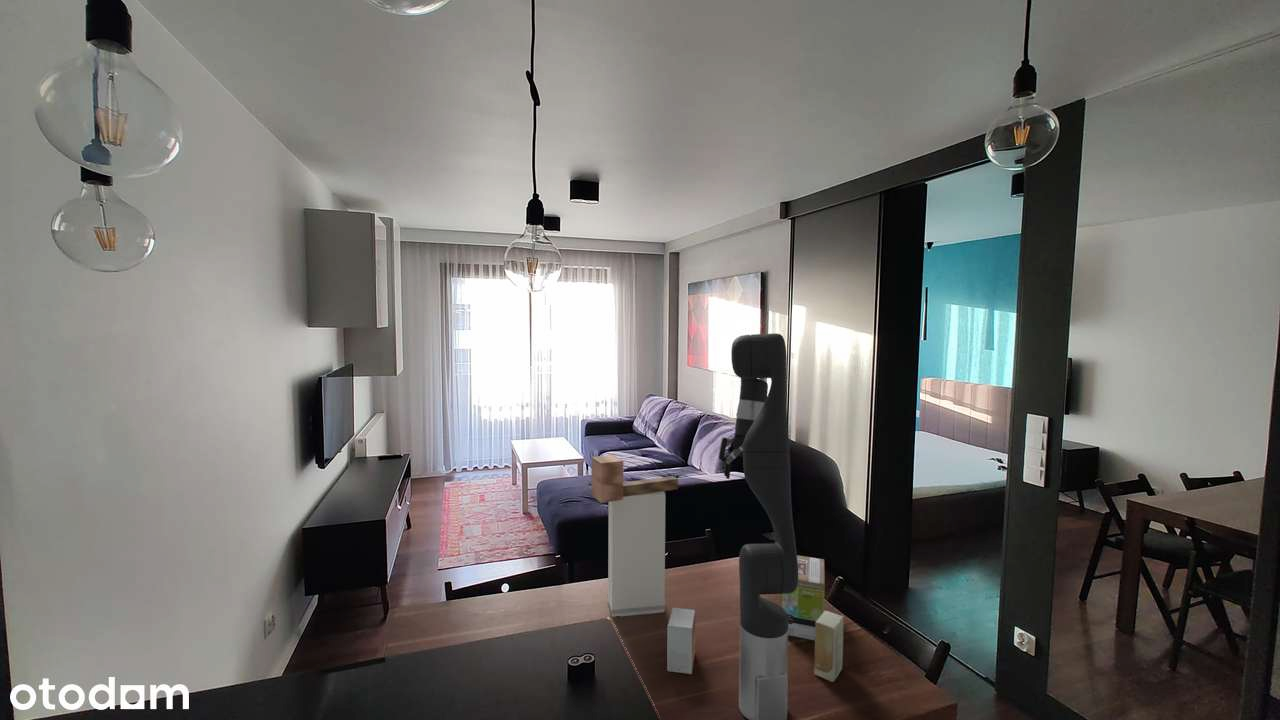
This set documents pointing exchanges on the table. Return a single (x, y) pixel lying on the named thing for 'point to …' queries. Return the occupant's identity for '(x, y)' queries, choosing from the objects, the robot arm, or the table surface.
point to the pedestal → (636, 555)
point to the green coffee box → (806, 598)
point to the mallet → (611, 484)
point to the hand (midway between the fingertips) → (744, 480)
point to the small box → (681, 641)
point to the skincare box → (828, 645)
